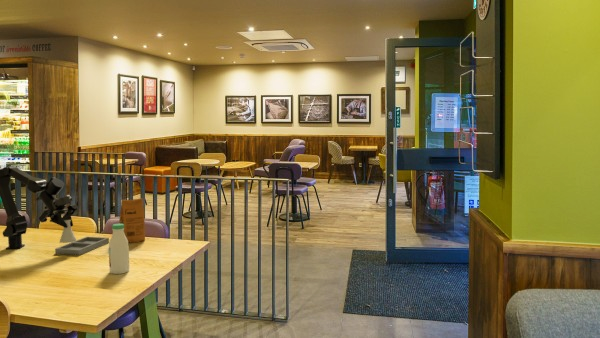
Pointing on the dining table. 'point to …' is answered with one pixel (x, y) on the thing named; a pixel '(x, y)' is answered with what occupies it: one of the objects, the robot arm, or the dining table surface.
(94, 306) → the dining table surface
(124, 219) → the coffee package
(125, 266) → the milk bottle
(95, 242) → the caddy tray
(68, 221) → the flask
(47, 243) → the dining table surface
